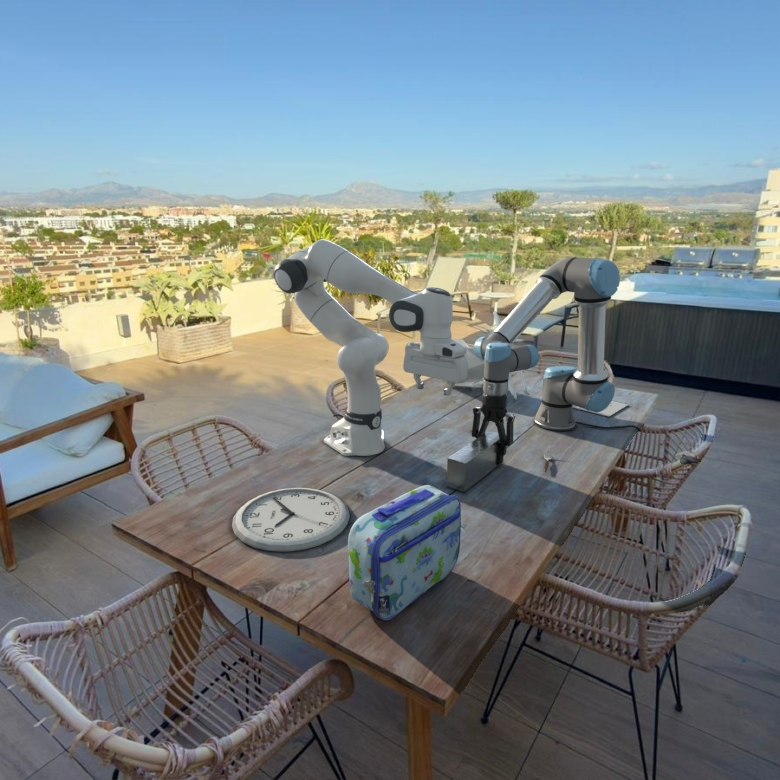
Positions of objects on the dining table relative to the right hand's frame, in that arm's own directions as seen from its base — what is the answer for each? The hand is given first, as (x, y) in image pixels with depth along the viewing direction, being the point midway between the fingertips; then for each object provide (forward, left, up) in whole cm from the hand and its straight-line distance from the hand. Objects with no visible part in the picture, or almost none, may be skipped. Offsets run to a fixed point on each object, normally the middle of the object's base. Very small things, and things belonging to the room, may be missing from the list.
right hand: (490, 460), depth 169 cm
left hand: (+19, +10, +26) cm, 34 cm away
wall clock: (+54, +41, -1) cm, 67 cm away
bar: (+5, +8, -1) cm, 10 cm away
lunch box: (+22, +65, -1) cm, 69 cm away
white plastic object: (0, -78, -1) cm, 78 cm away
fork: (-18, -3, -1) cm, 19 cm away
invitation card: (-52, -66, -1) cm, 84 cm away
